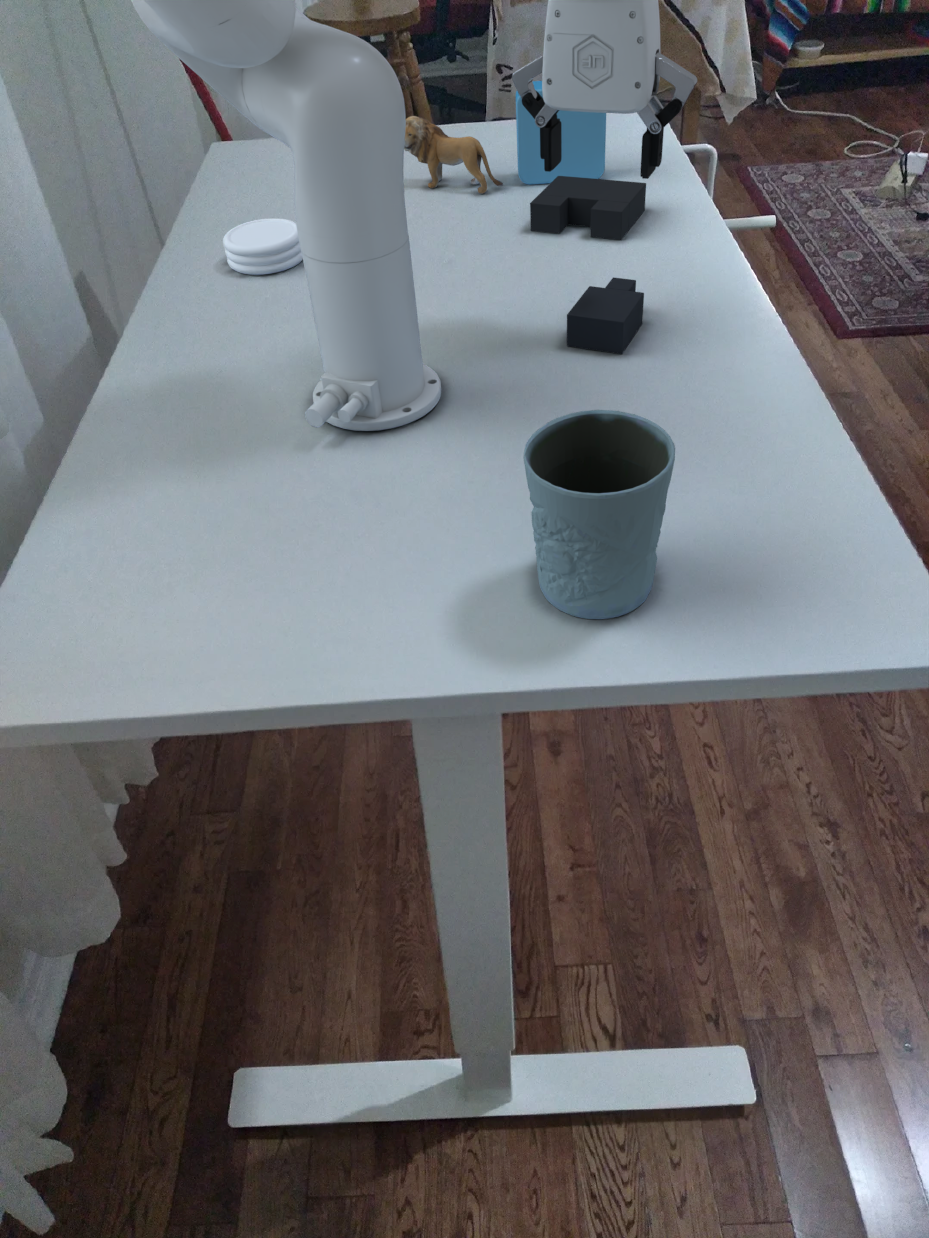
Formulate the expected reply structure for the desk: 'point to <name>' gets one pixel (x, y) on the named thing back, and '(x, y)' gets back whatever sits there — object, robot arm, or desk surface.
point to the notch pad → (588, 206)
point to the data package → (578, 144)
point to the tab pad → (606, 317)
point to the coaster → (263, 246)
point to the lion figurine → (445, 151)
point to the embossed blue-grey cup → (598, 509)
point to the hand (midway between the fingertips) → (599, 170)
